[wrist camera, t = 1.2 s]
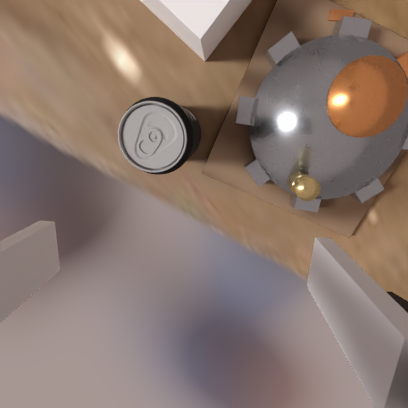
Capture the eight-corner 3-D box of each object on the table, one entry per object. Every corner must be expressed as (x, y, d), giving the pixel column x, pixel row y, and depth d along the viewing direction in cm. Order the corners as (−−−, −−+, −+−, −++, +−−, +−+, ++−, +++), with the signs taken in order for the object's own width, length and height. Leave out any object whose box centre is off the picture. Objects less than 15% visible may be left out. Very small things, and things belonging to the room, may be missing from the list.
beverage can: (212, 130, 33) (208, 132, 22) (179, 170, 35) (159, 193, 23) (170, 93, 32) (143, 76, 21) (138, 137, 34) (97, 143, 22)
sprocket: (286, -11, 28) (304, -46, 22) (453, 73, 29) (512, 60, 23) (208, 167, 33) (205, 176, 27) (351, 231, 35) (377, 252, 29)
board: (284, -18, 29) (287, -24, 27) (454, 67, 30) (463, 65, 29) (202, 171, 35) (201, 173, 34) (345, 235, 36) (350, 238, 35)
